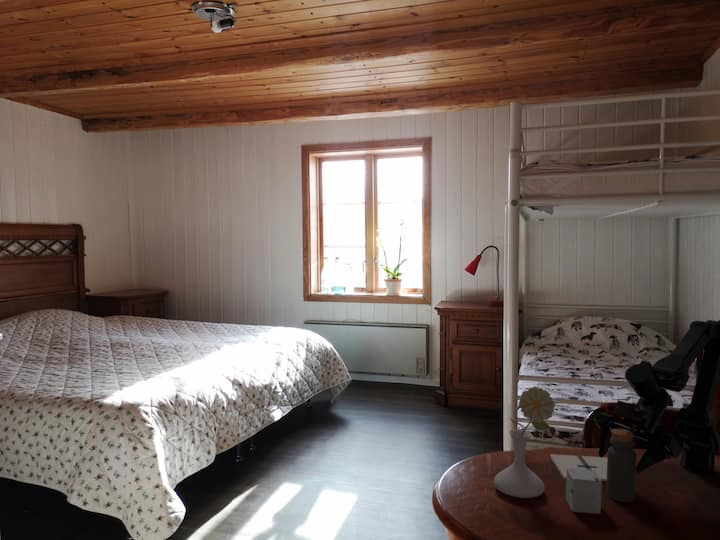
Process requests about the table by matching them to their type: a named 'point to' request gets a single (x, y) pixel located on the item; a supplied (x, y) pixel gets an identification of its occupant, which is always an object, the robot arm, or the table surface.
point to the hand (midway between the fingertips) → (618, 463)
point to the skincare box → (583, 490)
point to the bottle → (621, 466)
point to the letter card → (581, 464)
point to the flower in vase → (518, 475)
